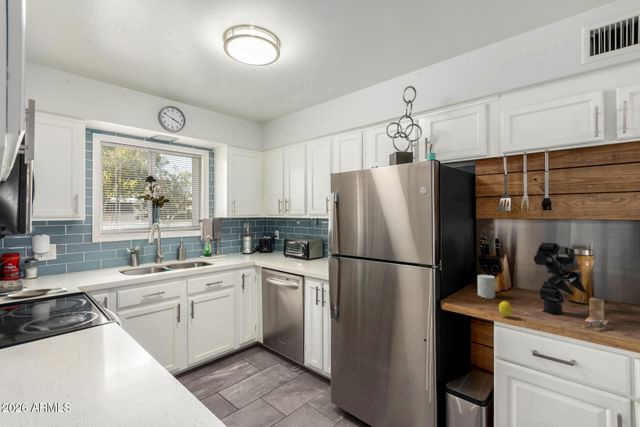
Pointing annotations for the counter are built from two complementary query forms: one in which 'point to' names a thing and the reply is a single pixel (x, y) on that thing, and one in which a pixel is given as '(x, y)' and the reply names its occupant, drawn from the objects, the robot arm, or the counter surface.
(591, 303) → the oak block
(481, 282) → the white cylinder
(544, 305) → the robot arm
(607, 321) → the pad
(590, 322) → the wire stand
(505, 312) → the lemon
